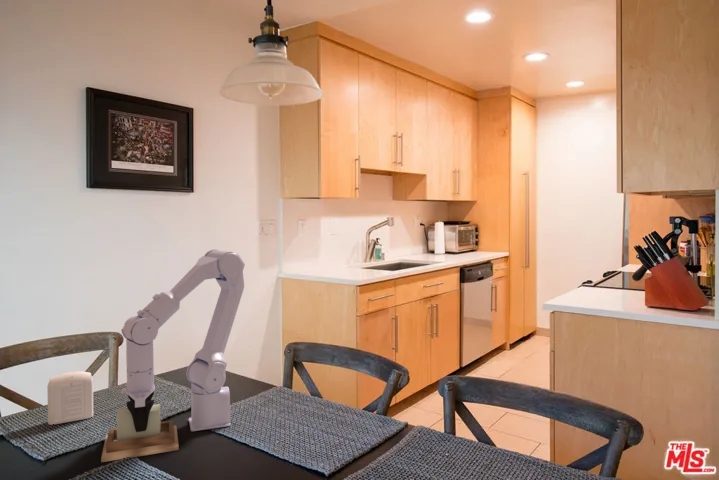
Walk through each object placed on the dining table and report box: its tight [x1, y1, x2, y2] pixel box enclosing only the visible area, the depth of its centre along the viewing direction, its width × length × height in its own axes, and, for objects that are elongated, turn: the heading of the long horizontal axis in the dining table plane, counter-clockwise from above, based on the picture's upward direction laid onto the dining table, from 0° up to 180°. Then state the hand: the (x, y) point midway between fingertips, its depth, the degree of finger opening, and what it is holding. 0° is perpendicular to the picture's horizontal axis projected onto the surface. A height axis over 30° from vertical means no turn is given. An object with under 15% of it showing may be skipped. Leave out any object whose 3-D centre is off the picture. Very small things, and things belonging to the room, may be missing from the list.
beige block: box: [115, 403, 162, 441], centre depth 118 cm, size 4×9×6 cm, turn 109°
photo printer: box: [47, 370, 94, 426], centre depth 131 cm, size 10×4×12 cm, turn 123°
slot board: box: [100, 419, 180, 463], centre depth 118 cm, size 16×12×3 cm
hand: (141, 426), depth 118 cm, fingers closed on beige block, 4 cm apart
